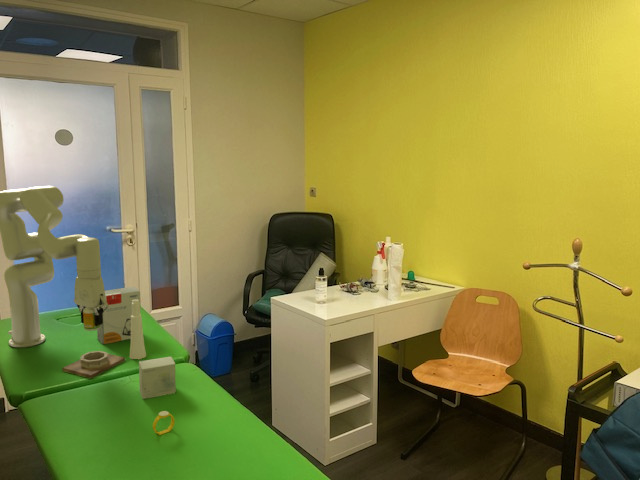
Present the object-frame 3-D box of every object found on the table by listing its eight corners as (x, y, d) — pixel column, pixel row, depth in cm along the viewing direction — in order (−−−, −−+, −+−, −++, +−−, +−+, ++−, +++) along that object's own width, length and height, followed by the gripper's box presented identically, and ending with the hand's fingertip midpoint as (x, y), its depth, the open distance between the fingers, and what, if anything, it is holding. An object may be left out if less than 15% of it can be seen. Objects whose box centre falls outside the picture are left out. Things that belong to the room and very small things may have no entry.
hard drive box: (103, 345, 206) (100, 296, 203) (97, 339, 212) (94, 291, 208) (142, 336, 216) (140, 290, 212) (135, 331, 222) (133, 285, 218)
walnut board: (62, 371, 183) (62, 361, 183) (98, 354, 198) (97, 345, 197) (91, 378, 179) (90, 368, 178) (125, 360, 193) (124, 351, 192)
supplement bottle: (94, 331, 182) (93, 305, 181) (80, 330, 183) (79, 303, 182) (103, 326, 188) (102, 300, 186) (90, 325, 189) (88, 299, 187)
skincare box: (142, 400, 165) (141, 368, 163) (139, 391, 171) (138, 360, 169) (176, 393, 170) (175, 363, 168) (172, 385, 176) (171, 355, 174)
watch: (170, 427, 151) (171, 408, 150) (175, 432, 149) (176, 412, 148) (151, 434, 147) (151, 413, 146) (155, 438, 145) (156, 417, 144)
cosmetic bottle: (149, 355, 198) (147, 299, 194) (138, 361, 193) (135, 303, 189) (137, 352, 201) (135, 296, 197) (125, 357, 196) (123, 301, 191)
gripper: (61, 273, 181) (65, 322, 185) (99, 279, 175) (102, 330, 179) (79, 268, 188) (82, 316, 192) (116, 274, 182) (118, 324, 185)
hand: (92, 322), depth 185 cm, fingers closed on supplement bottle, 5 cm apart
